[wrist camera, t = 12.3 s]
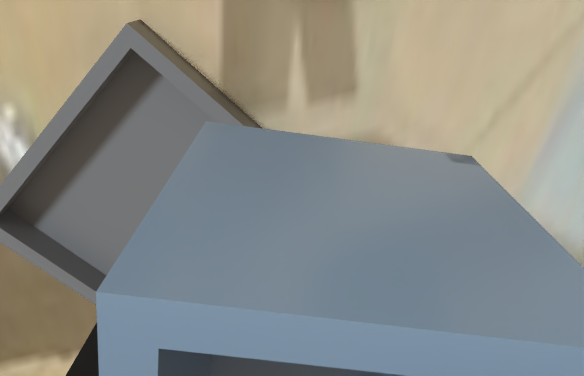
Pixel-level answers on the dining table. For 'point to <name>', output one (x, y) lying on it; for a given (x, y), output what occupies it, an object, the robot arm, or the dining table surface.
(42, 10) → the dining table surface
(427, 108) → the dining table surface
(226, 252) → the blue open box
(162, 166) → the tray
